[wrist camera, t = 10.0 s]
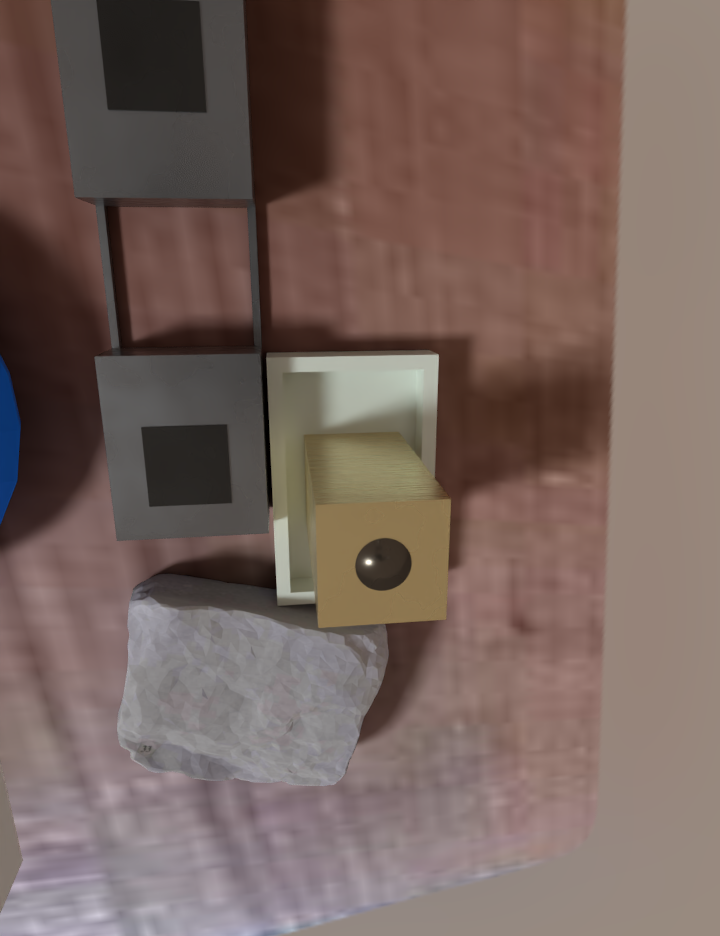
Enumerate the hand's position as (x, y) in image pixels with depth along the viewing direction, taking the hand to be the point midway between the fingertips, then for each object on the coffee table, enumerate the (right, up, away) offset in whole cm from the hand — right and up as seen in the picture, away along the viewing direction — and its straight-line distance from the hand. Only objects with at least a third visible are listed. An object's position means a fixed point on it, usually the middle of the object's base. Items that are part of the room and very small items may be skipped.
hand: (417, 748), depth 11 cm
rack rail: (-8, +12, +15) cm, 21 cm away
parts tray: (-1, +4, +18) cm, 19 cm away
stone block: (-6, -5, +21) cm, 23 cm away
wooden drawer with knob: (-1, +4, +18) cm, 19 cm away
